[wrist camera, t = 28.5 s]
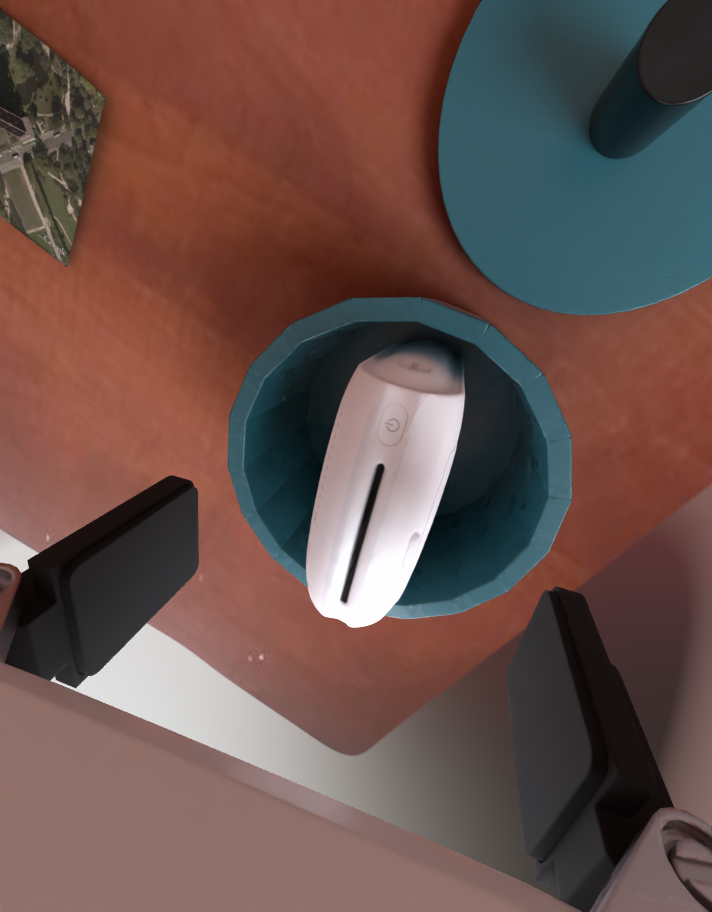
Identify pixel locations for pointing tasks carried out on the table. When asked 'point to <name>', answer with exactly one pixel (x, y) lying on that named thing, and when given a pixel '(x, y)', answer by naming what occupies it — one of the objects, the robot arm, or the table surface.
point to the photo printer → (383, 478)
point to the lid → (582, 150)
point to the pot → (474, 465)
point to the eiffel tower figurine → (43, 139)
